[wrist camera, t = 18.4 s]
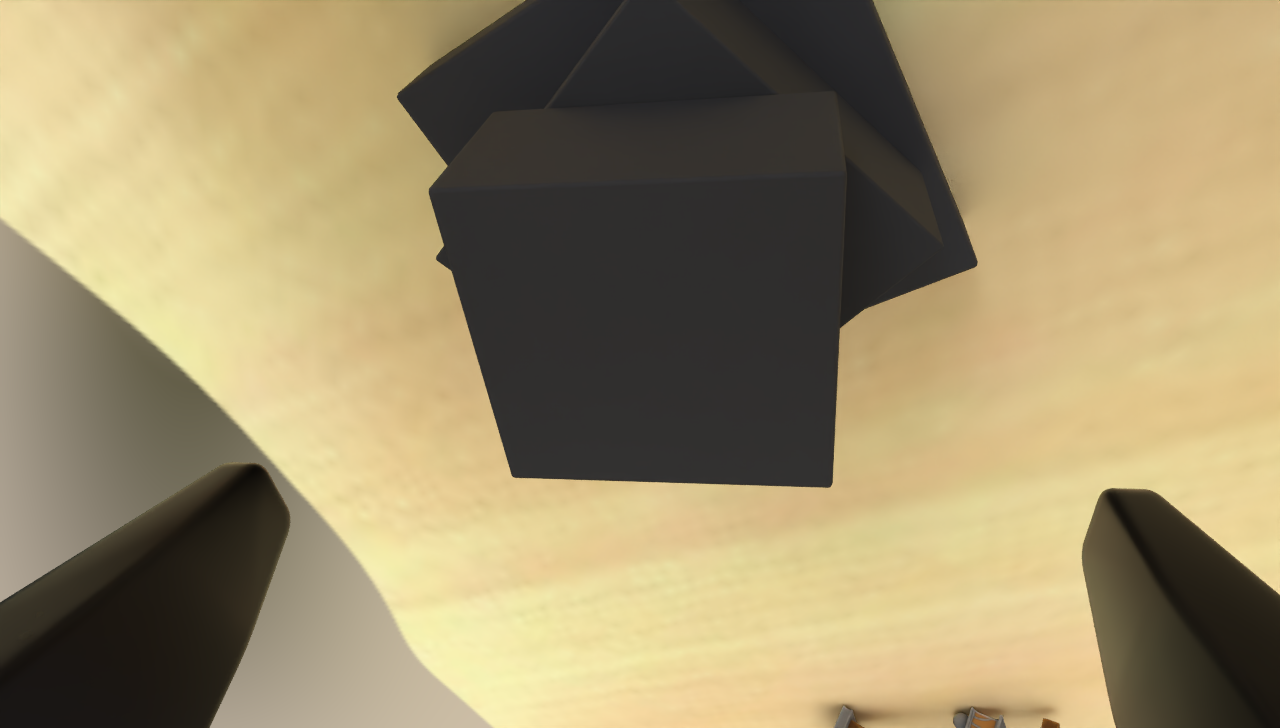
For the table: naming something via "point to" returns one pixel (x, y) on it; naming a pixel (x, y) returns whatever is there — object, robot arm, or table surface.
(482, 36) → the base pad
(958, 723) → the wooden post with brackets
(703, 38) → the charcoal square block
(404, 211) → the table surface
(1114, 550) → the robot arm
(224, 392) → the table surface
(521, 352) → the dark gray block
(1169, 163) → the table surface
